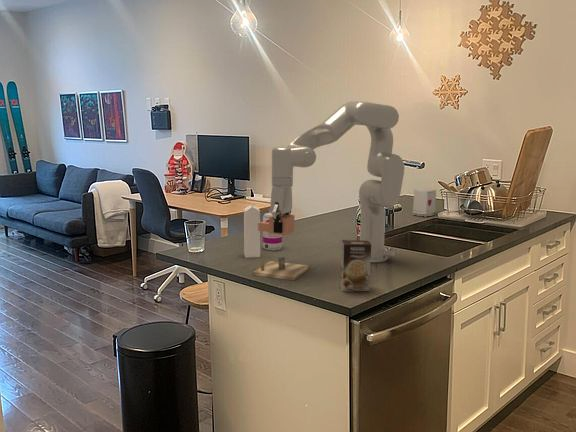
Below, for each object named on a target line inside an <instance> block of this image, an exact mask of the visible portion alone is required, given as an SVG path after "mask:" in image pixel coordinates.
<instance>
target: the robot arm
mask: <svg viewBox="0 0 576 432" xmlns="http://www.w3.org/2000/svg"><path fill="white" fill-rule="evenodd" d="M399 119H400V115H399V111H398V110H397V109H396V108H395V107H394V106H392V105H388V104H380V103H374V102H369V101H347V102H345V103H343V104H342V105H341V106H340V107H338V109H336V110H335V111H334V112H333V113H332V114H331V115H329V116H328V117H327V118H326V119H325V120H323V121H322V122H321V123H319V124H317V125H316V126H314V127H312V128H311V129H308V130H307V131H305V132H304V133H302V134H300V135H299V136H297V137H296V138H295V139H294V140H293V141H291V142H290V143H289V144H288V145H286V146H275V147H273V148H272V149H271V187H272V188H271V193H270V211H269V213H271V214H272V215H273V222H274V233H282V222H281V221H282V216H283V214H285V215H292V214H291V213H292V209H293V190H292V188H293V187H294V167H298V168H309V167H311V166H313V165H314V164H315V162H316V159H317V154H316V151H315V149H317V148H320V147H322V146H326V145H331V144H333V143H335V142H337V141H338V140H339V139H340V138H342V137H343V136H344V135H345V134H346V133H347V132H349V131H350V130H351V129H352V128H353V127H355V126H356V125H357V126H365V127H366V128H367V130H368V131H369V134H370V147H369V153H368V159H367V163H366V164H367V167H366V169H367V172H368V173H369V175H372V176H374V177H377V178H381V179H380V180H378V179H367V180H365V181H363V183H362V184H361V185H360V187H359V190H358V196H359V197H358V199H359V203H360V226H359V227H360V231H359V240H363V241H368V242H370V243H371V262H370V263H383V262H386V261H387V260H388V257H390V258H395V254H396V253H395V251H393V250H387V248H386V247H385V233H386V232H385V230H386V229H385V228H386V211H385V208H387V209H388V208H389V209H390V208H392V207H394V206H395V205H396V204H398V201H399V199H400V197H401V191H402V187H403V181H404V175H405V163H404V160H403V159H402V157H401V156H400V155H398V154H396V153H393V147H394V135H393V132H392V128H394V127H396V126H397V124H398V122H399ZM279 216H280V217H279Z"/></svg>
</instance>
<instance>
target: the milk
mask: <svg viewBox="0 0 576 432" xmlns="http://www.w3.org/2000/svg"><path fill="white" fill-rule="evenodd" d="M259 222H261V210H260V209H259V208H258V207H257V206H254V203H253V201H252V200H251V201H250V205H248V206H247V207H244V208H243V234H244V235H243V240H244V241H243V243H244V244H243V248H244V249H243V251H244V253H243V255H244V257H245V258H246V259H247V258H249V259H250V258H261V231H258V223H259Z"/></svg>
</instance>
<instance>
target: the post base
mask: <svg viewBox="0 0 576 432" xmlns="http://www.w3.org/2000/svg"><path fill="white" fill-rule="evenodd" d="M309 270H310V265H308V264H298V263H290V262H286V258H285V257H278V261H272V260H270V261H267V263H265V261H261V262H260V267H259V268H257V269H256V270H255V269H254V271H252V276H256V277H264V278H272V279H280V280H288V281H289V280H290V281H296V280H297V279H299V278H300V277H301V276H302V275H304V274H305V273H306V272H307V271H309Z"/></svg>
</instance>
